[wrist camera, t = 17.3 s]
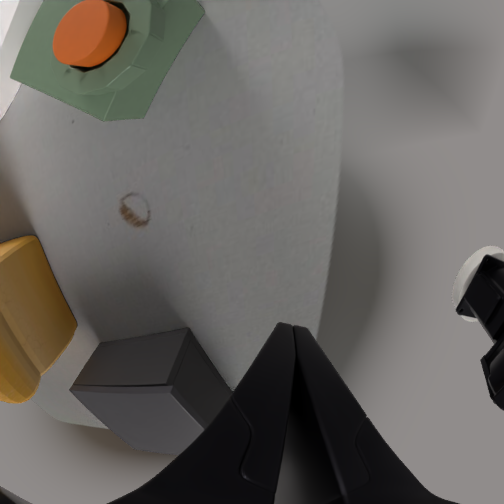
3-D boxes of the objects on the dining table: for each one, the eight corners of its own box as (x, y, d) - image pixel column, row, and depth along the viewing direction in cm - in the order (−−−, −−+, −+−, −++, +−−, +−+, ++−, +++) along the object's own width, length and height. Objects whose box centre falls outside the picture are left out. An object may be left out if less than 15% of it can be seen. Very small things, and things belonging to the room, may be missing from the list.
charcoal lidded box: (188, 327, 25) (165, 383, 19) (237, 399, 30) (228, 449, 24) (99, 342, 28) (72, 384, 22) (152, 404, 33) (136, 444, 27)
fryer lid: (173, 385, 19) (170, 393, 18) (235, 451, 23) (234, 457, 22) (72, 384, 22) (68, 390, 22) (136, 444, 27) (134, 449, 26)
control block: (221, 17, 14) (191, -26, 8) (157, 125, 18) (101, 133, 12) (98, -13, 12) (46, -36, 6) (51, 77, 16) (-9, 79, 10)
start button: (140, 12, 9) (122, 2, 7) (105, 74, 11) (85, 71, 9) (92, 2, 9) (74, -5, 7) (63, 59, 10) (42, 57, 8)
